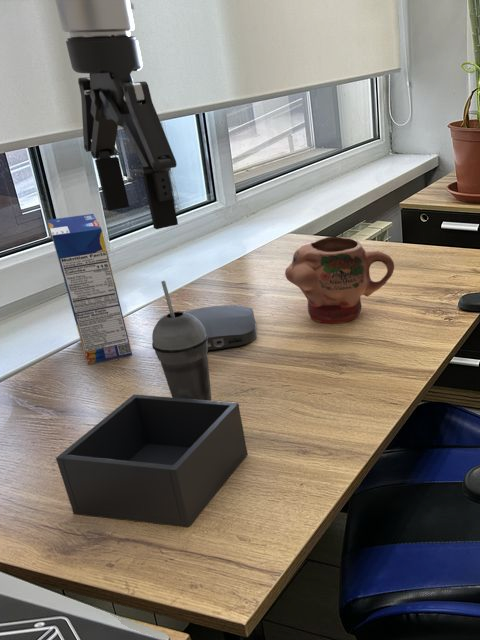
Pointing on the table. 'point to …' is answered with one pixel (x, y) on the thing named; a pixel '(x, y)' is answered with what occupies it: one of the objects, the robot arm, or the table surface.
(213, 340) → the media streaming box
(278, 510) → the table surface
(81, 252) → the beverage box
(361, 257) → the pink ceramic mug
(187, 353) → the beverage cup
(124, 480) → the desk bin
